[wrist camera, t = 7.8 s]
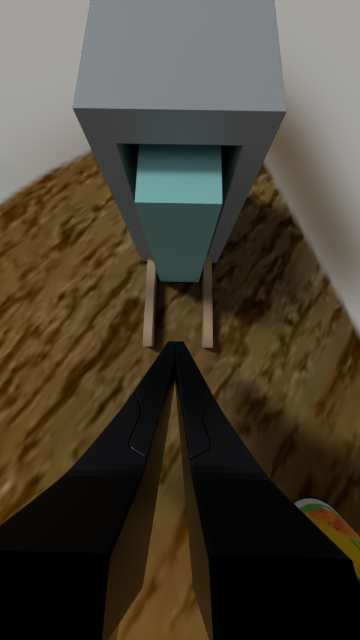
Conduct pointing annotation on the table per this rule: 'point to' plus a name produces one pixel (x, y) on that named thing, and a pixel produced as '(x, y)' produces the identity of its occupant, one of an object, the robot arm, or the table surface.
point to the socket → (180, 92)
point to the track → (151, 304)
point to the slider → (179, 205)
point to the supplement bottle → (333, 528)
